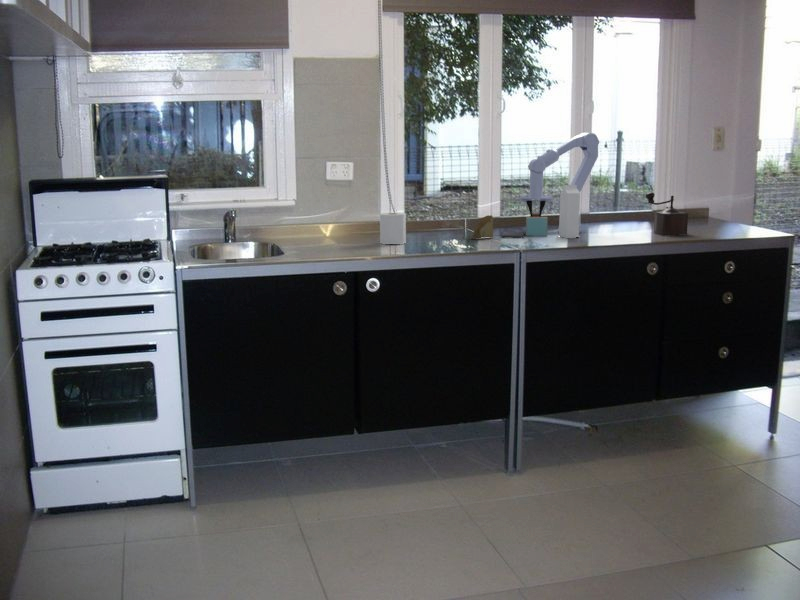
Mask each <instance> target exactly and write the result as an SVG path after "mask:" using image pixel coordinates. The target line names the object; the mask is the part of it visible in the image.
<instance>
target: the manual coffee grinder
mask: <svg viewBox="0 0 800 600" xmlns="http://www.w3.org/2000/svg"><path fill="white" fill-rule="evenodd" d="M644 195H645V199H647V204H651V205H655V206H657V205H658V206H659V205H663V204H667V203H670V206H669V207H668V206H666V208H665V209H663V210H660V211H654V218H653V219H654V223H653V234H656V235H660V234H661V235H660V236H665V235H675V236H680V235H679V234H687V235H688V221H689V220H688V219H689V214H688V212H682V211H680V210H679V209H677V208H674V206H673V205H674V201H675V199H674V197H675V196H674V195H671V196H670V198H669V199H668V200H666V201H660V202H655V199H654V198H655V192H652V191H649V192H647V193H645V194H644Z"/></svg>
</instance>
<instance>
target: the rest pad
mask: <svg viewBox="0 0 800 600" xmlns="http://www.w3.org/2000/svg"><path fill="white" fill-rule="evenodd" d="M524 235H525V232H524V231H503V232H502V234H501V238H502V237H513V238H512V239H524ZM521 237H522V238H521Z"/></svg>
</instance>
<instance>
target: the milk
mask: <svg viewBox="0 0 800 600" xmlns="http://www.w3.org/2000/svg"><path fill="white" fill-rule="evenodd" d="M559 196H560V197H559V198H560V207H559V216H560V227H559V226H558V229H559V232H558V236H560V237H559V238H562V237H564V238H563V239H566V238H569V239H577V238H576V237H580V232H579V214H580V212H581V210H580V209H581V207H580V205H581V204H580V203H581V192H579V191H578V189H577V185H571V184H565V185H564V186H563V189H562V190H561V191H560V195H559Z"/></svg>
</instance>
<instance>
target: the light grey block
mask: <svg viewBox="0 0 800 600" xmlns="http://www.w3.org/2000/svg"><path fill="white" fill-rule="evenodd" d="M406 215H407V214H406V213H404V212H383V213H380V214H379V240H380V241H379V244H381V243H382V244H381V245H385V244H400V245H405V244H406V243H407V224H406V221H407V219H406V218H407V217H406ZM404 243H405V244H404Z"/></svg>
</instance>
